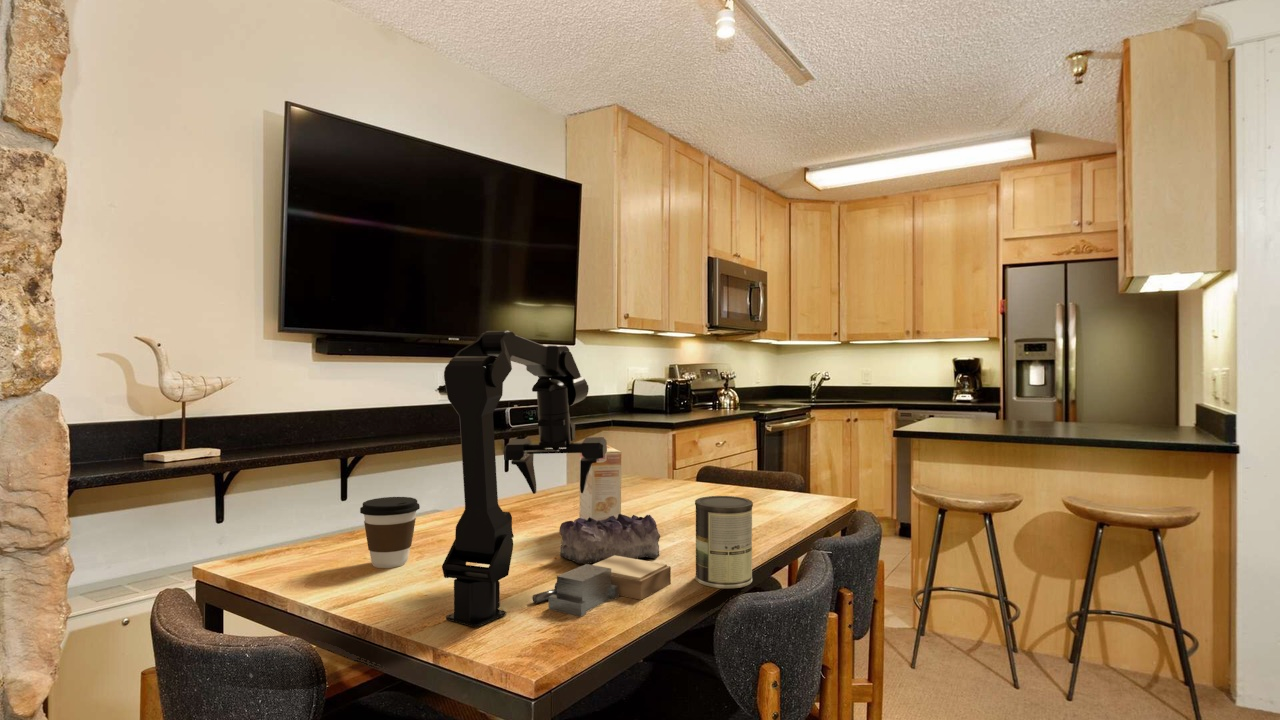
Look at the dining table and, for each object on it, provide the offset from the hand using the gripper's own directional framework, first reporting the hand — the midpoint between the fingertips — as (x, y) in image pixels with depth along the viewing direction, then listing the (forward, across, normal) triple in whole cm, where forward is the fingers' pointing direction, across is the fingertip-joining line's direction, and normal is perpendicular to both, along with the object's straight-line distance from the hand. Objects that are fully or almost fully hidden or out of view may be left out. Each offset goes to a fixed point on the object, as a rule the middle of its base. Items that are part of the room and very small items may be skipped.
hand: (558, 492), depth 130 cm
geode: (+16, -8, -6) cm, 19 cm away
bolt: (+12, -2, +20) cm, 23 cm away
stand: (+13, -14, +11) cm, 22 cm away
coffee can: (+15, -30, +6) cm, 34 cm away
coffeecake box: (+18, -3, -26) cm, 32 cm away
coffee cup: (+13, +33, +3) cm, 36 cm away
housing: (+12, -8, +20) cm, 25 cm away
